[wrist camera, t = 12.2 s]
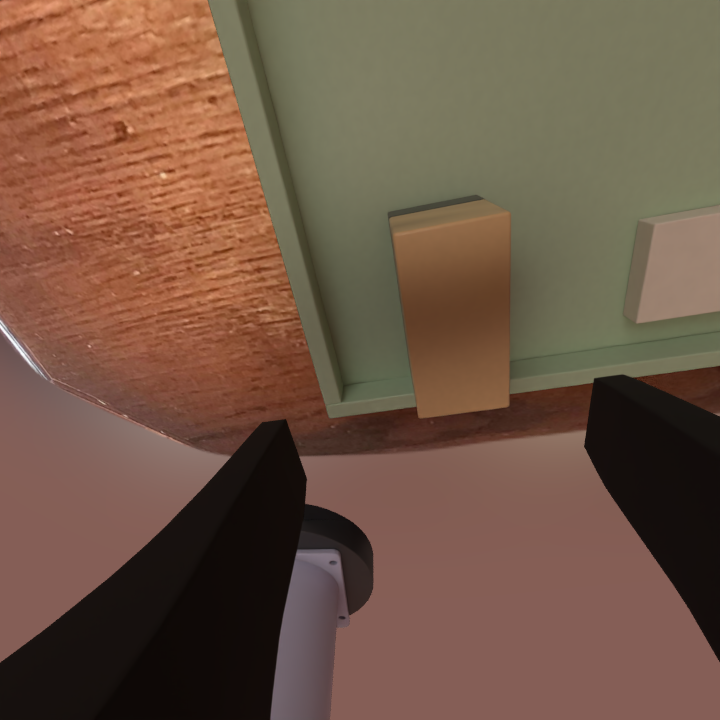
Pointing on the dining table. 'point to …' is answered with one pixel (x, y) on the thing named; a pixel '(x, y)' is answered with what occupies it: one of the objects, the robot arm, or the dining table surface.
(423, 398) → the eraser
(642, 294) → the square tile
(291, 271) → the tray
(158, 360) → the dining table surface
